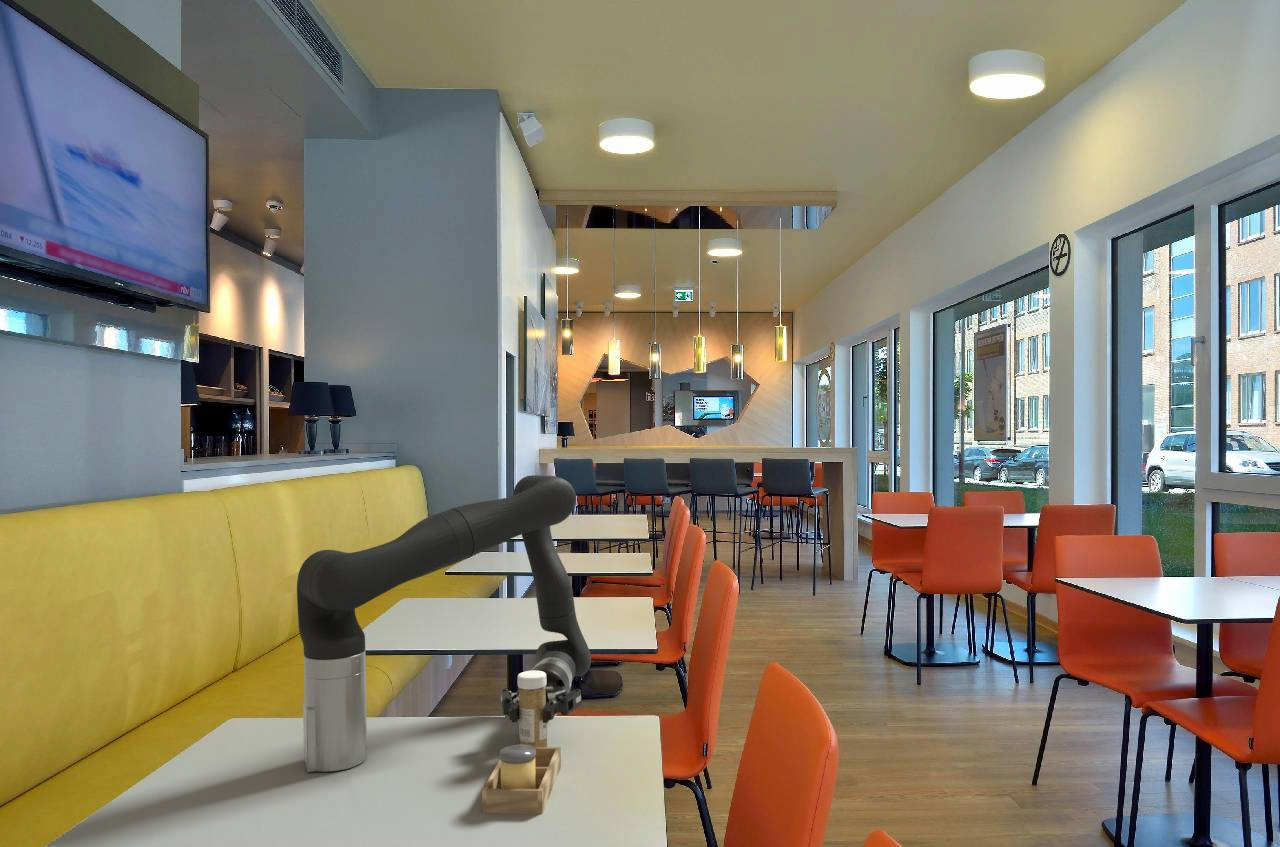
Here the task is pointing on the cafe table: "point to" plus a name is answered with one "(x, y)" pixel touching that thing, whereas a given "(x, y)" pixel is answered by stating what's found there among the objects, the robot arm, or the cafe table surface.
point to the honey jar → (518, 767)
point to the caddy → (524, 798)
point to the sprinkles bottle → (532, 708)
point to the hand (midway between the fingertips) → (529, 716)
